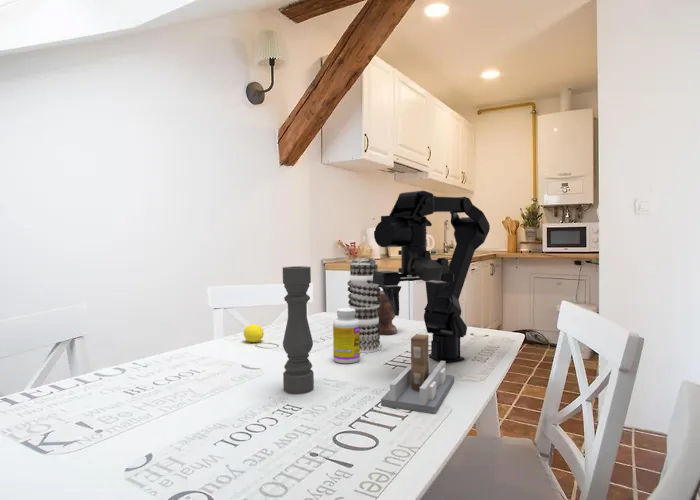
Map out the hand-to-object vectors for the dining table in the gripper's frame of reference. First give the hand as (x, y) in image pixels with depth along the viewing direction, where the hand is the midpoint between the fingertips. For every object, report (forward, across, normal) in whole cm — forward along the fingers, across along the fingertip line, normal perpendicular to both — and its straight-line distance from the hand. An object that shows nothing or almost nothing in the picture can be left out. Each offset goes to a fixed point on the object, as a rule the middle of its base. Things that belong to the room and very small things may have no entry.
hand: (414, 313), depth 101 cm
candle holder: (+13, -28, 0) cm, 31 cm away
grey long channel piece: (+13, -7, -13) cm, 20 cm away
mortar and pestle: (+13, +11, +36) cm, 40 cm away
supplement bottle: (+13, -11, +14) cm, 22 cm away
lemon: (+13, -28, +44) cm, 54 cm away
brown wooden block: (+12, -7, -13) cm, 19 cm away
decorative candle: (+13, -2, +22) cm, 26 cm away
